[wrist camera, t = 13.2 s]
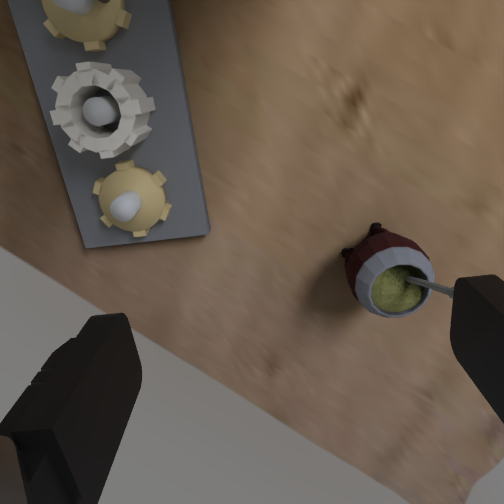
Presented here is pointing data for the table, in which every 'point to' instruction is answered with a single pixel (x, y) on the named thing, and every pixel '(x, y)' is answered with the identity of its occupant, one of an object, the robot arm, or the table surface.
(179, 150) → the gear board
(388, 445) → the table surface
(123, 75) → the ivory gear
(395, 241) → the mate gourd
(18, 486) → the robot arm
